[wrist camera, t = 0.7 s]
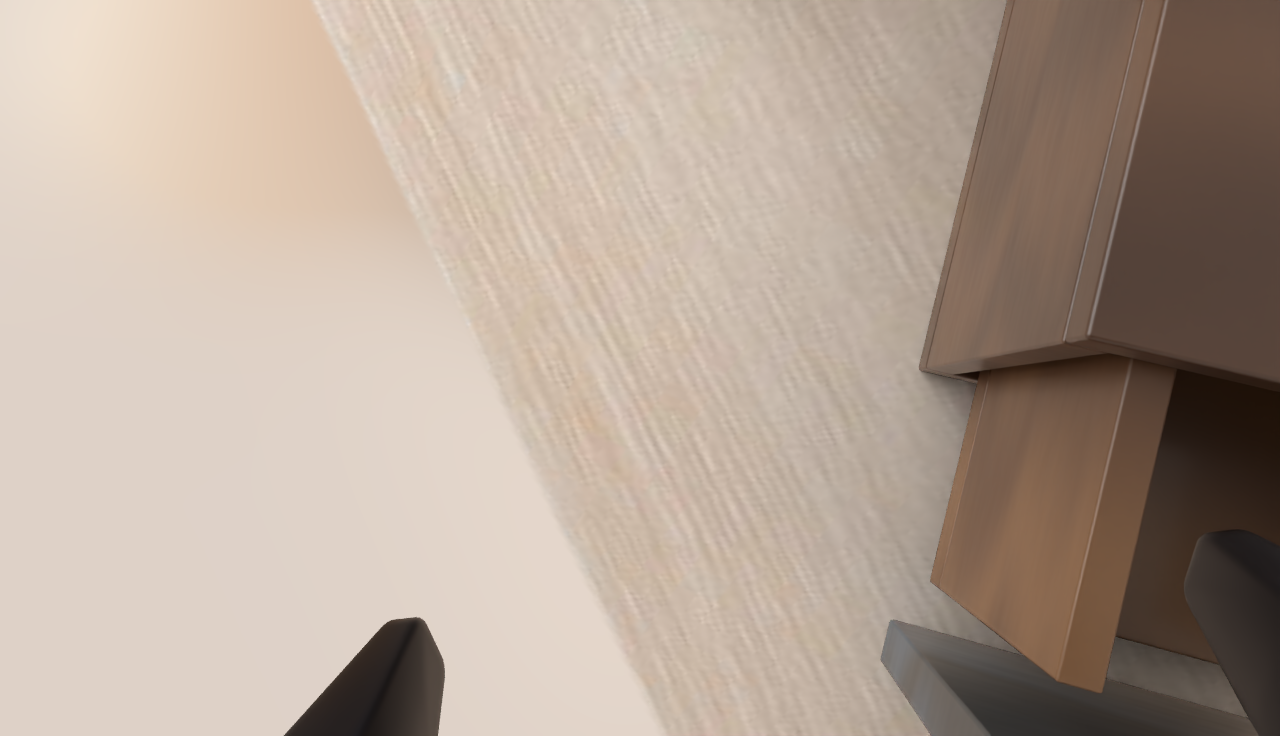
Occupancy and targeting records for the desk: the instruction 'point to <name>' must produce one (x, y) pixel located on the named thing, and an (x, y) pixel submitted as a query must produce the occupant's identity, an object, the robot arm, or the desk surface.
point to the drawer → (1086, 544)
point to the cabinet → (1121, 193)
